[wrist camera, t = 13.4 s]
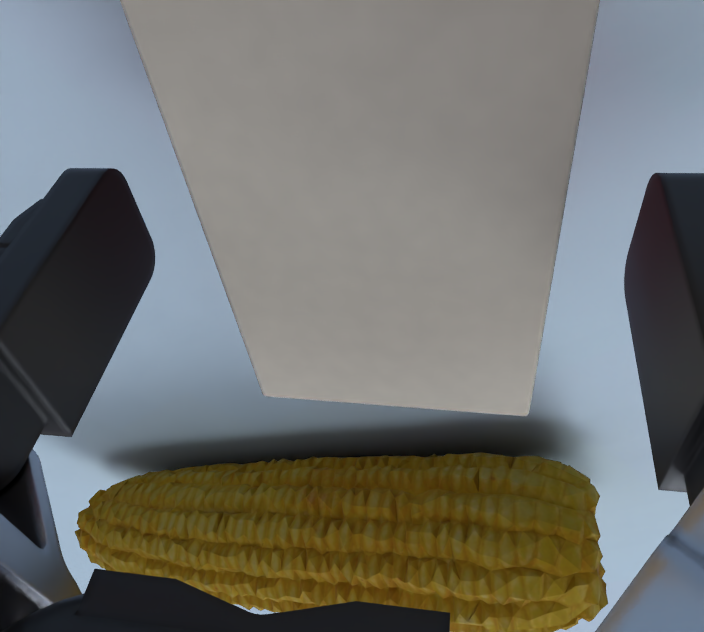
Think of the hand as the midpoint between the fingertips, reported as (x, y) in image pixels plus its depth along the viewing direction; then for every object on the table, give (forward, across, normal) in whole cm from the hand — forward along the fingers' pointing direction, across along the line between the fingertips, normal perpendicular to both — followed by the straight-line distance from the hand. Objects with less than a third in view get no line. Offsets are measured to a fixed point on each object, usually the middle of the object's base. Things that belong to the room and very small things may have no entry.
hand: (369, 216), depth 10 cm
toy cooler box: (+4, 0, 0) cm, 4 cm away
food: (+5, +4, +17) cm, 18 cm away
